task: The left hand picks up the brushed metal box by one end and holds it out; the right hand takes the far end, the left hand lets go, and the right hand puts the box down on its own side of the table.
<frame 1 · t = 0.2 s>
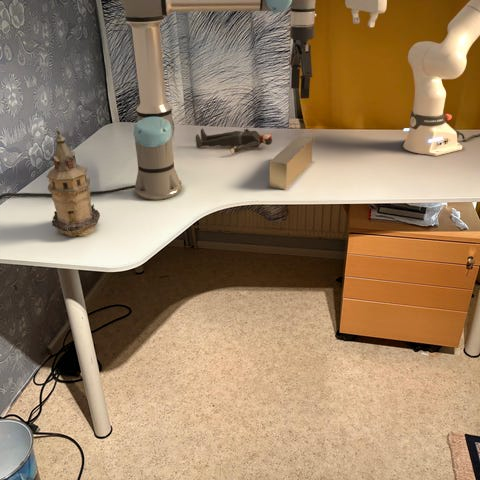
left hand: (299, 93, 180), 27 cm above the table, tool pointing down, fingers open, 13 cm apart
right hand: (363, 25, 180), 47 cm above the table, tool pointing down, fingers open, 8 cm apart
toy: (235, 146, 215), on the table
box: (291, 173, 190), on the table
miniature building: (78, 229, 156), on the table
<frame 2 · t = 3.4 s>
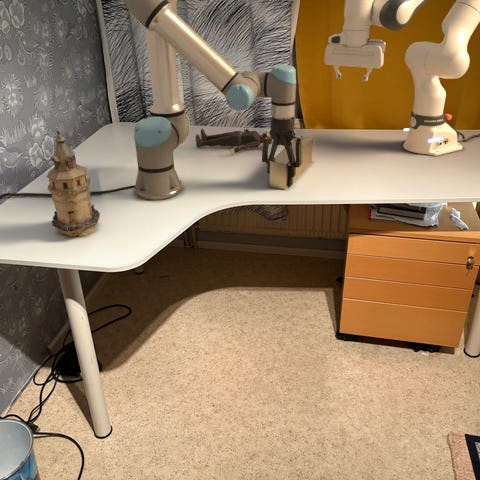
left hand: (281, 183, 181), 0 cm above the table, tool pointing down, fingers closed on box, 6 cm apart
right hand: (351, 79, 188), 29 cm above the table, tool pointing down, fingers open, 8 cm apart
box: (291, 173, 190), on the table, touching left hand
everything else where it was.
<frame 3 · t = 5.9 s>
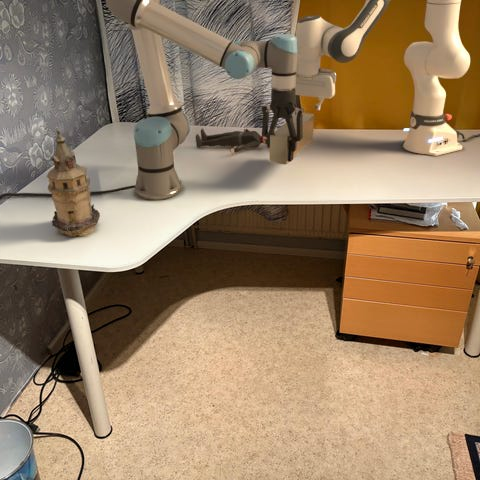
left hand: (281, 158, 177), 9 cm above the table, tool pointing down, fingers closed on box, 6 cm apart
right hand: (304, 108, 188), 21 cm above the table, tool pointing down, fingers open, 8 cm apart
box: (292, 149, 185), point 9 cm above the table, touching left hand
everything else where it was.
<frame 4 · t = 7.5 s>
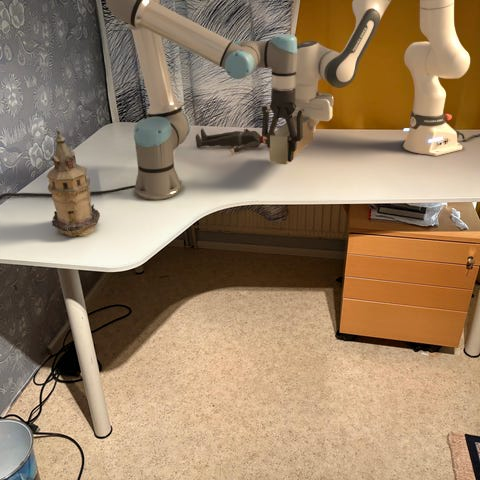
left hand: (281, 158, 177), 9 cm above the table, tool pointing down, fingers closed on box, 6 cm apart
right hand: (302, 130, 192), 13 cm above the table, tool pointing down, fingers closed on box, 6 cm apart
box: (292, 150, 185), point 9 cm above the table, touching left hand, right hand
everything else where it was.
when the left hand's fingers open (9 cm above the table, at t = 8.4 s): box stays where it is, held by the right hand.
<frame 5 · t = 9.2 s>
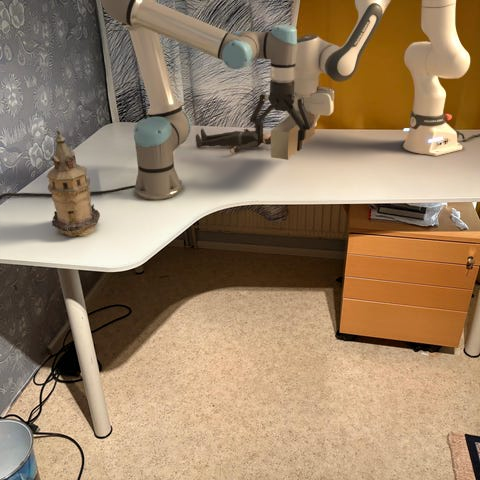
left hand: (279, 146, 174), 14 cm above the table, tool pointing down, fingers open, 13 cm apart
right hand: (304, 124, 191), 15 cm above the table, tool pointing down, fingers closed on box, 6 cm apart
box: (293, 145, 185), point 11 cm above the table, touching right hand
everything else where it was.
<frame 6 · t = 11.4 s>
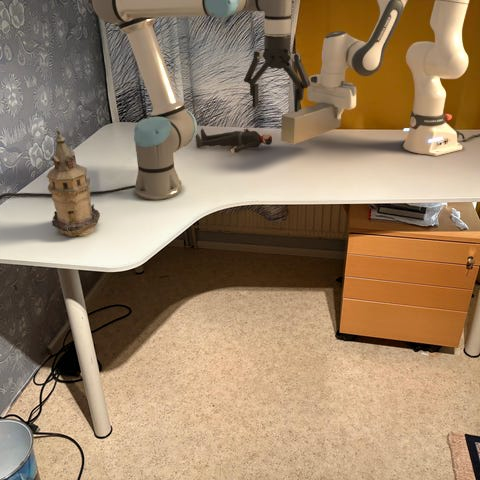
left hand: (276, 108, 163), 28 cm above the table, tool pointing down, fingers open, 13 cm apart
right hand: (329, 116, 201), 14 cm above the table, tool pointing down, fingers closed on box, 6 cm apart
box: (311, 133, 197), point 10 cm above the table, touching right hand
everything else where it was.
when the right hand's fingers open (5 cm above the table, at t = 13.1 s): box stays where it is, on the table.
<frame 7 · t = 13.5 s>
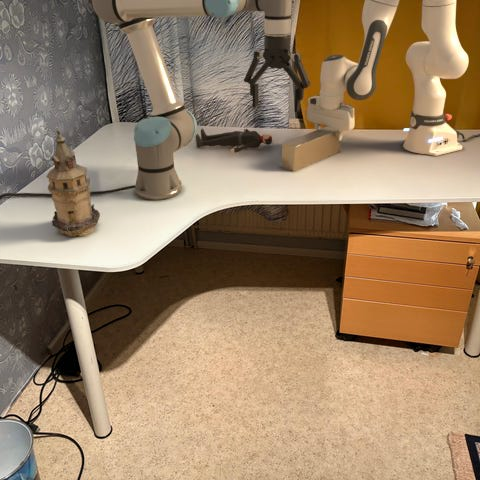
left hand: (276, 108, 163), 28 cm above the table, tool pointing down, fingers open, 13 cm apart
right hand: (329, 137, 205), 6 cm above the table, tool pointing down, fingers open, 8 cm apart
box: (311, 159, 202), on the table
everything else where it was.
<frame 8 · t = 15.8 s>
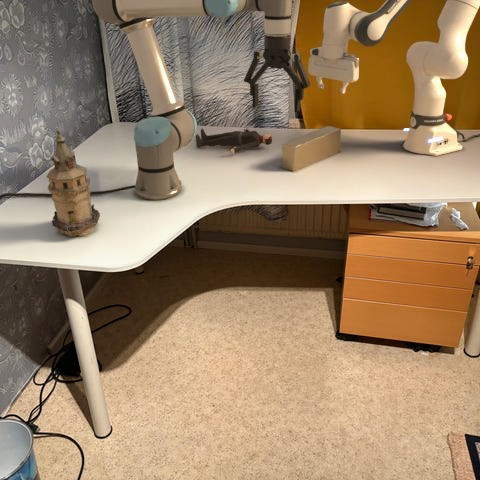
left hand: (276, 108, 163), 28 cm above the table, tool pointing down, fingers open, 13 cm apart
right hand: (331, 90, 196), 24 cm above the table, tool pointing down, fingers open, 8 cm apart
nothing on the table moved.
at the end: box inside the target area (10.2 cm from its centre), on the table; the left hand is holding nothing; the right hand is holding nothing; box at rest at the end (0.0 cm/s) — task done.
